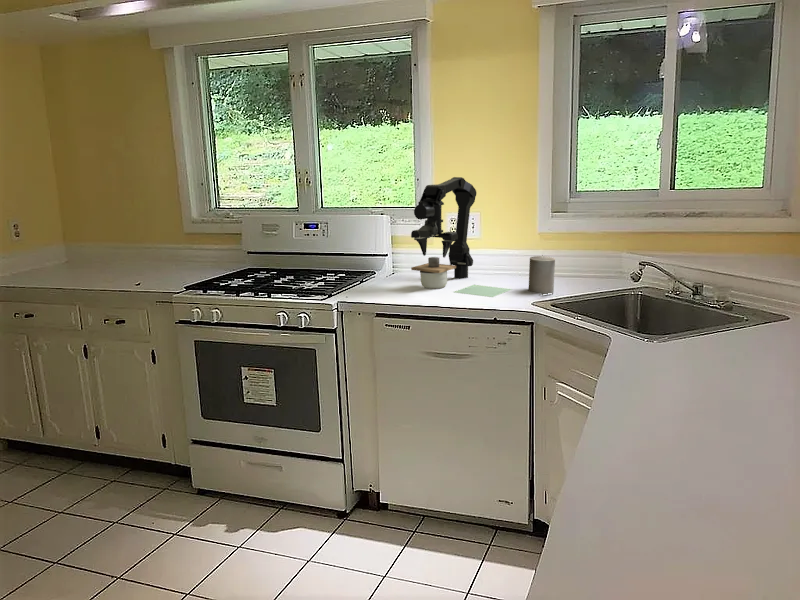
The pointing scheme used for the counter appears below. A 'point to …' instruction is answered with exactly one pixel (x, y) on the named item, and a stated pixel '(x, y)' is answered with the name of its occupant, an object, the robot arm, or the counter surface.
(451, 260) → the robot arm
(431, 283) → the teacup
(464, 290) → the sage mat
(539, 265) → the pillar candle
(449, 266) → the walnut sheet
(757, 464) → the counter surface
